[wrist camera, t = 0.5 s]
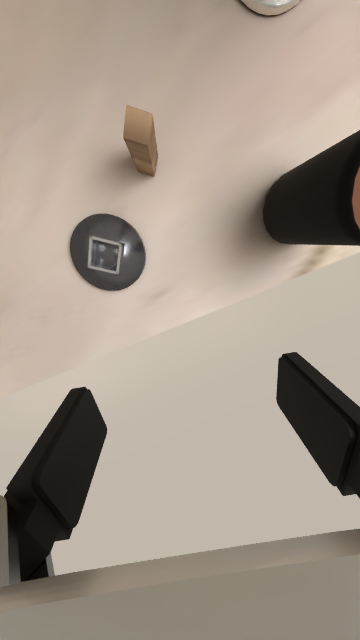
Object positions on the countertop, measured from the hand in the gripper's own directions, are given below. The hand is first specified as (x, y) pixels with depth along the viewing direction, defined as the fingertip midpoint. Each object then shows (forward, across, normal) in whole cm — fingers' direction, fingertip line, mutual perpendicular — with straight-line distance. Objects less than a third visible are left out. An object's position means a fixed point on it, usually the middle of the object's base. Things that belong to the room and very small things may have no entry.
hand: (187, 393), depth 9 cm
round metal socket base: (+28, +10, -6) cm, 30 cm away
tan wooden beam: (+28, +1, -18) cm, 33 cm away
